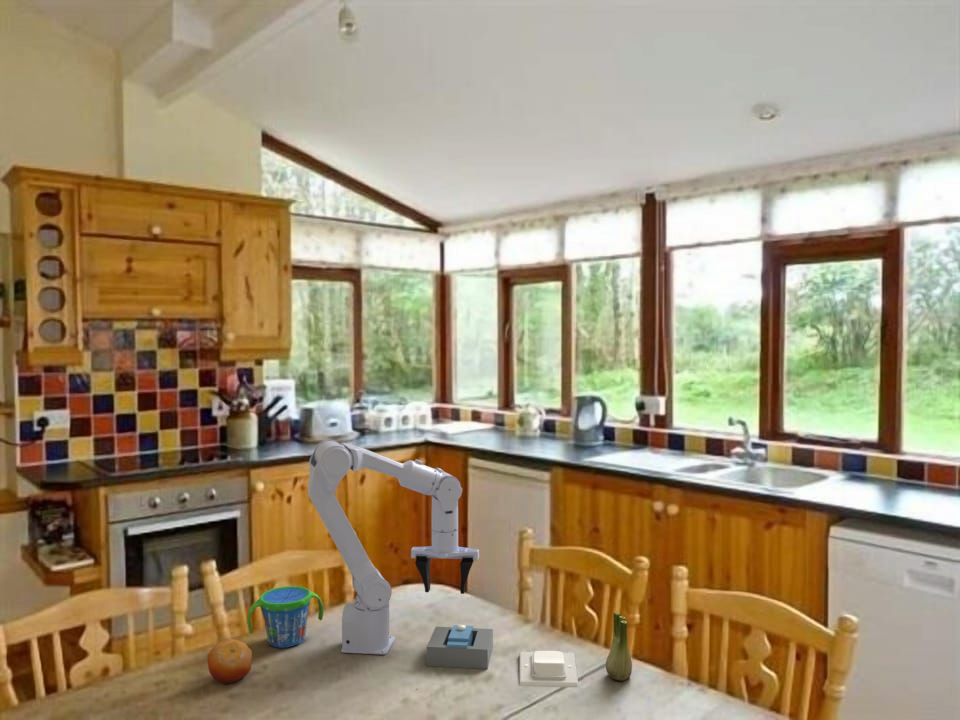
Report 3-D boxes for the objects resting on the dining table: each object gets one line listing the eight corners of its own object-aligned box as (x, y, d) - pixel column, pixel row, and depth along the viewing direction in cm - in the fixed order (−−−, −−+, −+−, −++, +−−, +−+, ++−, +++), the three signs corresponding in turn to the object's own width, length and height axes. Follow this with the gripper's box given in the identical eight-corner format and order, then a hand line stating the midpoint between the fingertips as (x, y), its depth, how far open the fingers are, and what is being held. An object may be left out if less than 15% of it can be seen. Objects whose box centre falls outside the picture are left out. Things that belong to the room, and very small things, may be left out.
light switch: (519, 671, 136) (519, 638, 149) (519, 693, 136) (519, 658, 149) (578, 672, 135) (573, 639, 148) (578, 694, 136) (573, 659, 149)
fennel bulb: (629, 686, 136) (629, 622, 136) (602, 681, 138) (603, 618, 137) (634, 672, 142) (634, 610, 141) (608, 668, 143) (608, 607, 143)
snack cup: (248, 657, 148) (248, 608, 148) (246, 637, 158) (245, 590, 158) (327, 646, 154) (326, 598, 154) (320, 627, 164) (319, 581, 163)
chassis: (426, 665, 145) (426, 646, 144) (435, 644, 155) (435, 626, 154) (487, 668, 143) (487, 649, 143) (492, 647, 153) (492, 629, 153)
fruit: (235, 655, 146) (244, 626, 143) (251, 687, 142) (261, 658, 139) (195, 668, 141) (203, 639, 138) (211, 701, 136) (220, 672, 133)
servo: (447, 666, 144) (446, 638, 144) (454, 646, 154) (454, 619, 154) (467, 667, 144) (467, 639, 144) (473, 647, 153) (473, 620, 153)
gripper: (407, 533, 156) (408, 596, 156) (475, 535, 154) (476, 599, 154) (414, 524, 163) (415, 585, 163) (480, 526, 161) (480, 588, 161)
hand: (445, 591), depth 159 cm, fingers open, 7 cm apart
